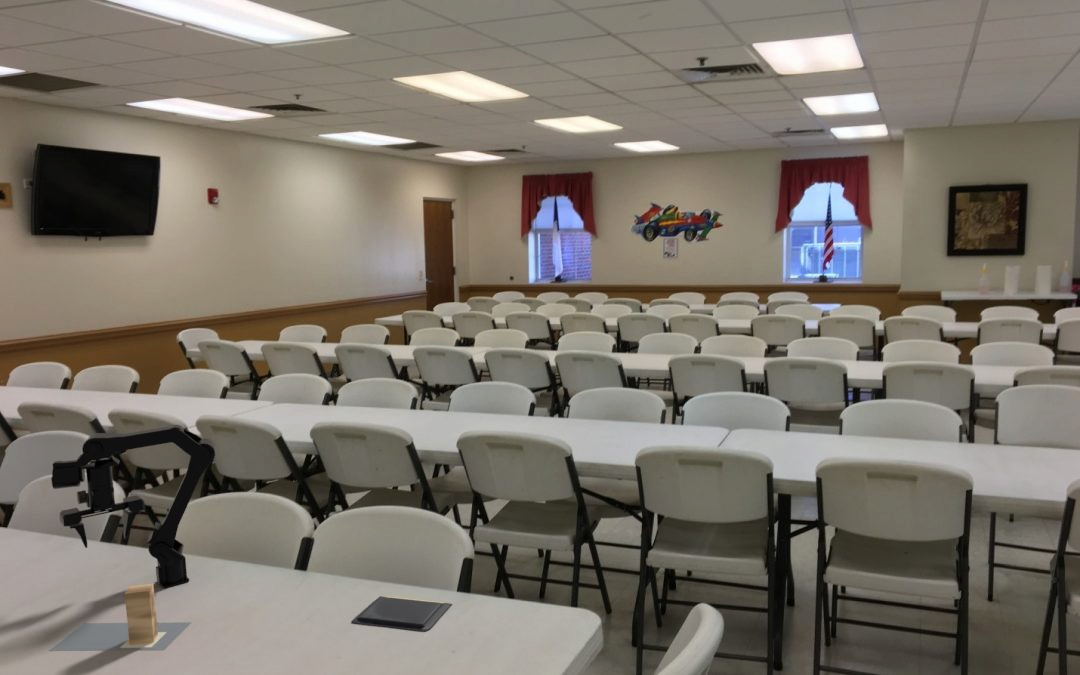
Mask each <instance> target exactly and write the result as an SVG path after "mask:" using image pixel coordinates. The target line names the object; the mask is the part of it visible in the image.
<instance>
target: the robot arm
mask: <svg viewBox="0 0 1080 675" xmlns="http://www.w3.org/2000/svg"><path fill="white" fill-rule="evenodd" d="M170 443H173V444H174V445H176V446H177V447H179V448H180V449H181V450H182V451H183V452H185V453H186V454H187V455H189V456H190V458H189V462H188V465H187V466H188V467H187V470H186V472H185V474H184V477H183V478H182V481H181V483H180V484H179V488H178V489H177V492H176V494H175V496H174V499H173V500H172V504H171V506H170V507H169V509H168V512H167V513H166V516H165V518H164V519H163V521H162V522H161V523H160V522H158V521H156V522H155V524H154V527H153V530H152V532H151V533H150V534H149V536H148V539H147V544H148V553H149V554H150V556H151V557H152V558H154V559H156V561H157V566H155V575H156V576H155V577H156V582H157V584H159V585H160V586H161V587H162V588H163V589H166V588H169V587H173V586H176V585H180V584H184V583H187V582H189V581H190V578H189V577H188V573H187V562H186V556H185V555H183V552H184V551H183V550H184V544H183V542H180V541H179V540H178V539H176V536H177V532H178V528H179V525H180V522H181V520H182V518H183V517H184V514H185V511H186V509H187V508H188V505H189V502H190V501H191V498H192V497H193V494H194V492H195V489H196V488H197V485H198V484H199V480H200V479H201V477H202V476H203V474H204V473H205V472H206V471H207V470H208V469H209V467H210V465H211V464H212V462H213V461H214V460H215V458H216V457H215V456H216V450H217V447H216V444H215V443H214V441H213V440H211V439H209V438H202V437H201V436H199V435H198V434H196V433H193V432H192V431H189V430H187V429H186V428H184V427H183V426H181V425H179V424H172V425H170V426H165V427H158V428H152V429H146V430H140V431H134V432H133V431H132V432H127V433H113V432H103V433H102V432H97V433H94V434H90V436H89V437H88V438H87V439H86V440H85V442H84V443H83V444H82V450H81V451H82V454H79V456H78V457H77V459H73V460H72V459H71V460H64V461H63V460H57V461H56V460H54V462H53V463H52V473H51V478H50V479H51V485H52V486H51V487H52V488H53V489H54V490H57V489H58V490H59V489H67V488H75V487H80V486H81V483H84V482H85V480H86V482H87V491H86V490H85V489H83V490H80V491H77V492H76V498H77V504H78V505H82V504H86V507H87V508H88V509H83V510H80V509H79V508H77V507H73V508H69V509H63V510H61V511H60V512H59V522H60V524H61V525H62V526H63V527H68V528H69V529H73V530H75V531H76V533H77V534H78V536H79V539H80V540H81V542H82V544H83V546H84V549H87V548H88V539H87V535H86V530H85V529H86V528H85V524H84V523H83V522H82V520H83V519H85V518H90V517H94V516H95V517H96V516H99V515H103V514H104V515H105V514H109V513H113V512H114V513H115V512H118V511H122V515H123V527H122V528H123V530H122V531H123V537H124V539H128V536H129V532H130V531H131V530H130V529H131V527H132V524H133V522H134V520H135V518H136V517H137V515H141V512H140V511H144V510H145V509H146V505H145V501H144V499H143V498H142V497H141V496H139V495H132V496H127V497H123V498H122V502H118V503H117V502H116V500H115V487H114V480H113V478H114V477H113V469H112V467H117V466H118V465H119V464H120V460H119V458H117V457H115V456H114V455H116V454H118V453H121V452H123V451H129V450H134V449H140V448H146V447H152V446H157V445H162V444H163V445H165V444H170ZM92 461H94V462H92ZM91 462H92V463H91Z"/></svg>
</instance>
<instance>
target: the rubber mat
mask: <svg viewBox="0 0 1080 675" xmlns="http://www.w3.org/2000/svg"><path fill="white" fill-rule="evenodd" d="M191 624H192V622H189V621H188V622H187V621H186V622H183V621H182V622H179V621H178V622H174V621H173V622H157V630H158V635H157V637H156V639H155V641H154V642H152V643H144V644H136V645H130V643H129V633H128V622H84V623H82V624H81V625H79V626H78V627H77V628H76V629H74V630H73V631H72V632H71V633H69V634H68V635H67V636H65V637H64V638H63V639H62V640H61V641H59V642H57V644H55V645H54V646H53V647H52V648H51V649H49V650H48V651H49V652H52V651H53V652H61V651H63V652H65V651H66V652H67V651H69V652H72V651H73V652H75V651H76V652H78V651H80V652H82V651H83V652H86V651H91V652H92V651H94V652H95V651H97V652H99V651H165V650H166V649H167V648H168V647H169V646H170V645H171V644H172V643H173V642H174V641H175V640H176V639H177V638H178V637H179V636H180V635H182V633H183V632H184V631H185V630H186V629H187V628H188V627H189V626H190V625H191Z"/></svg>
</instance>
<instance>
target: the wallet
mask: <svg viewBox="0 0 1080 675" xmlns="http://www.w3.org/2000/svg"><path fill="white" fill-rule="evenodd" d="M452 606H453V603H449V602H442V601H441V602H440V601H432V600H431V601H430V600H422V599H413V598H404V597H393V596H381V595H380V596H378V597H377V598H376V599H375V600H373V601H372V602H371V603H369V605H368V606H367V607H365V608H364V609H363V610H362V611H361V612H359V614H357V615H356V616H355V617H354V618H353V619H352V620H351V622H350V624H354V625H358V626H359V625H361V626H371V627H377V628H379V627H380V628H387V629H397V630H403V631H412V632H417V633H418V632H419V633H420V632H421V633H426V632H428V631H430V630H431V629H432V628H433V627H434V626H435V625H436V624H437V622H439V620H441V618H442V617H443V616H444V615H445V614H446V613H447V611H449V609H450V608H451V607H452Z"/></svg>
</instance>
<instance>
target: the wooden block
mask: <svg viewBox="0 0 1080 675" xmlns="http://www.w3.org/2000/svg"><path fill="white" fill-rule="evenodd" d="M155 598H156V597H155V589H154V583H147V584H146V583H145V584H138V585H129V587H128V588H127V589H126V591H125V593H124V600H125V609H126V620H127V622H126V623H128V633H129V643H130V645H136V644H144V643H152V642H154V641H155V639H156V637H157V635H158V630H157V623H158V622H157V612H156V611H157V610H156V601H155V600H156V599H155Z"/></svg>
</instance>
